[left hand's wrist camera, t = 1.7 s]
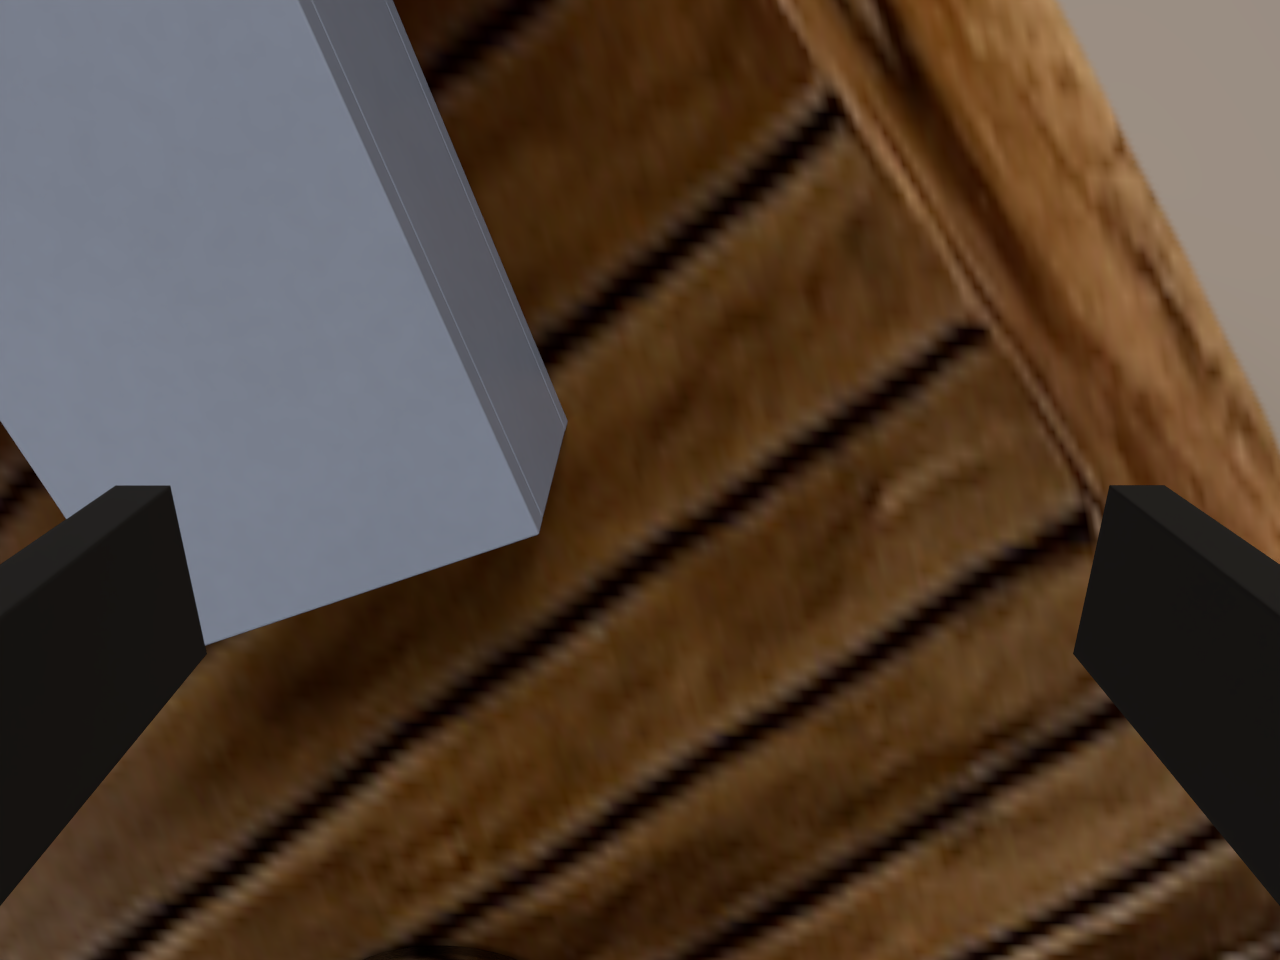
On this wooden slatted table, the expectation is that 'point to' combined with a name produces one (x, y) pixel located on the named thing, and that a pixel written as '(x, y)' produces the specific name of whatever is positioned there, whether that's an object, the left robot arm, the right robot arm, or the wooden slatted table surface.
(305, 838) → the wooden slatted table surface
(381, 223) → the cabinet
